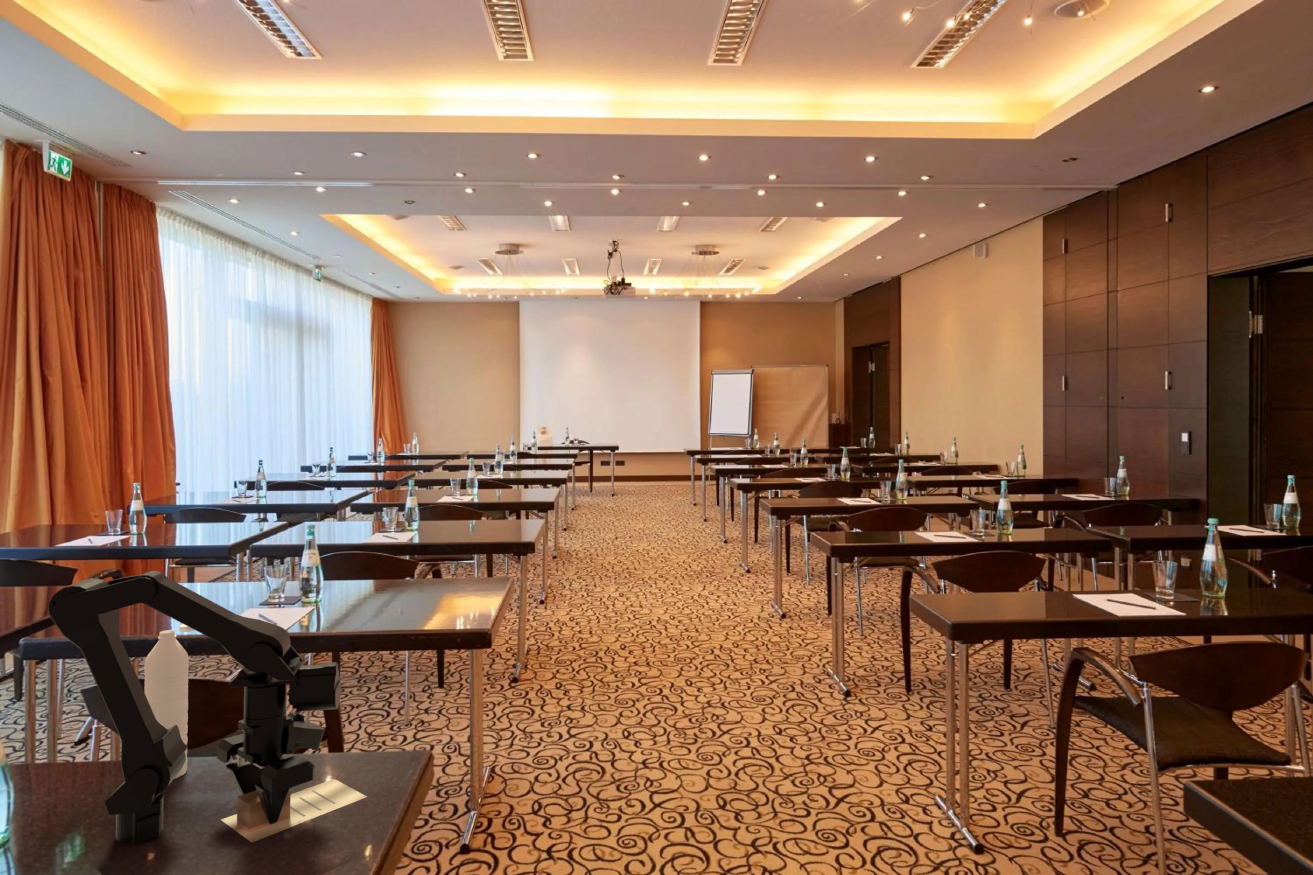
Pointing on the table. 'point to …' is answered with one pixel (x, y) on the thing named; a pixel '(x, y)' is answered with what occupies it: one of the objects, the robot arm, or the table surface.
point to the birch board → (304, 808)
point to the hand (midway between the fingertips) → (263, 816)
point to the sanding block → (256, 811)
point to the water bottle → (169, 683)
